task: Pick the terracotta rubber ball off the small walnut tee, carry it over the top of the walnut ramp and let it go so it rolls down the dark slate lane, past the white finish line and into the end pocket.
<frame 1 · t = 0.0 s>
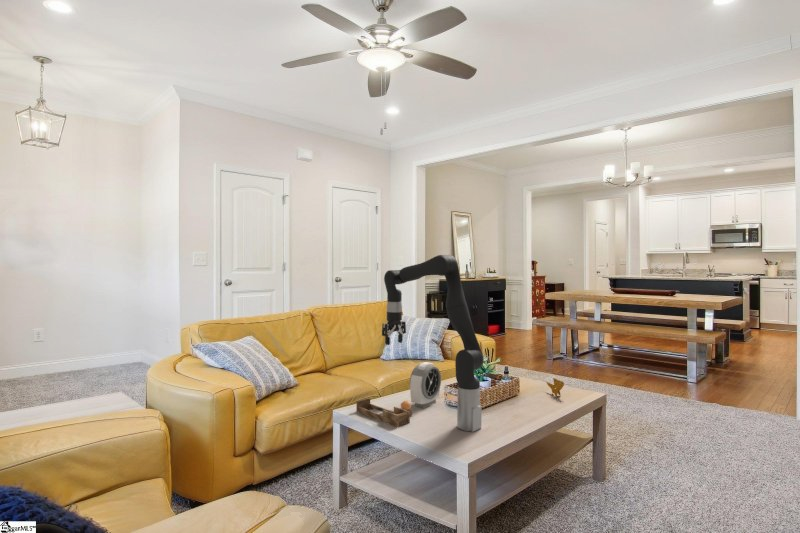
hand: (394, 343, 219), 29 cm above the table, fingers open, 8 cm apart
ball: (405, 405, 202), point 5 cm above the table, touching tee
alarm clock: (425, 404, 219), on the table
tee: (405, 415, 202), on the table
lane: (382, 417, 199), on the table
toy: (554, 395, 236), on the table
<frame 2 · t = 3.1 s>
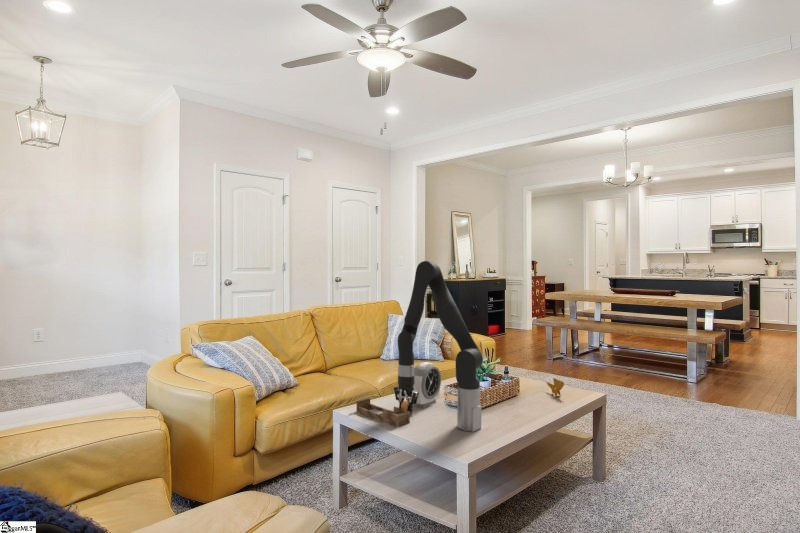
hand: (405, 411, 202), 2 cm above the table, fingers closed on ball, 4 cm apart
ball: (405, 405, 202), point 5 cm above the table, touching gripper, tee
everything else where it was.
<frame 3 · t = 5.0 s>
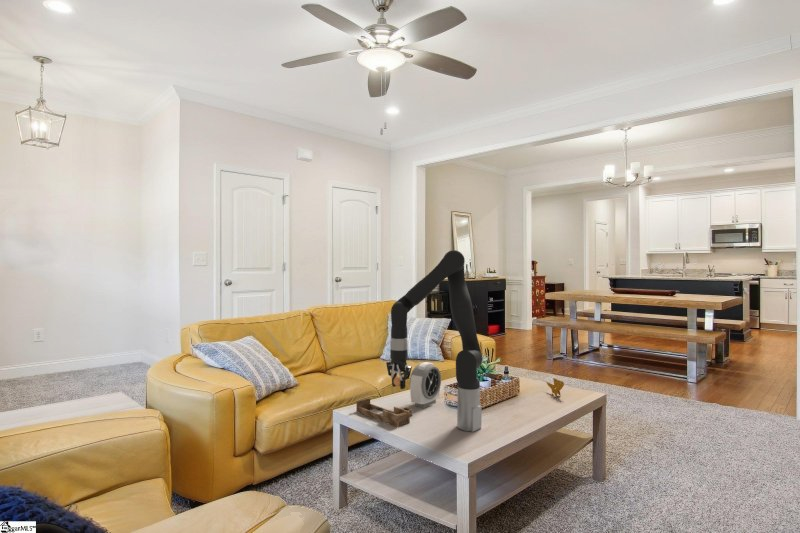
hand: (398, 387, 193), 15 cm above the table, fingers closed on ball, 4 cm apart
ball: (398, 381, 193), point 18 cm above the table, touching gripper
everything else where it was.
when the fingers open (6 cm above the table, at t = 6.9 s): ball drops 3 cm and tips over, resting on lane.
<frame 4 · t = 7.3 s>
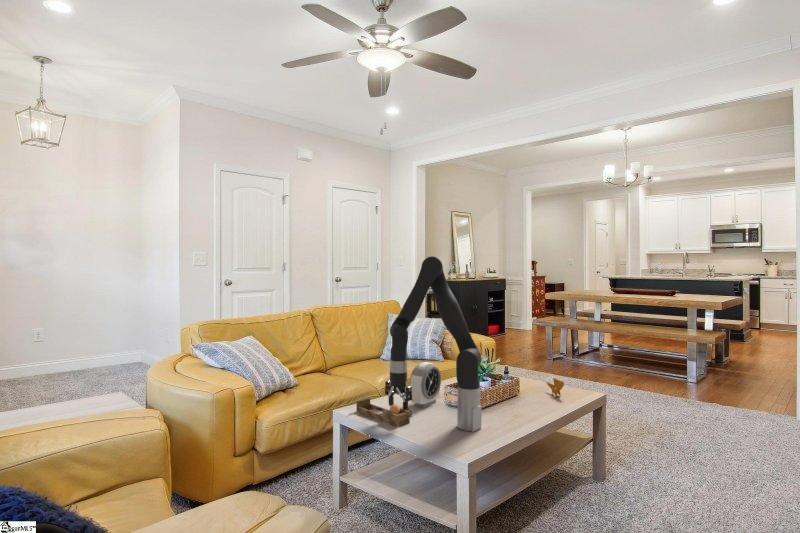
hand: (398, 407, 192), 7 cm above the table, fingers open, 8 cm apart
ball: (394, 409, 194), point 5 cm above the table, tilted 57°, touching gripper, lane
everything else where it was.
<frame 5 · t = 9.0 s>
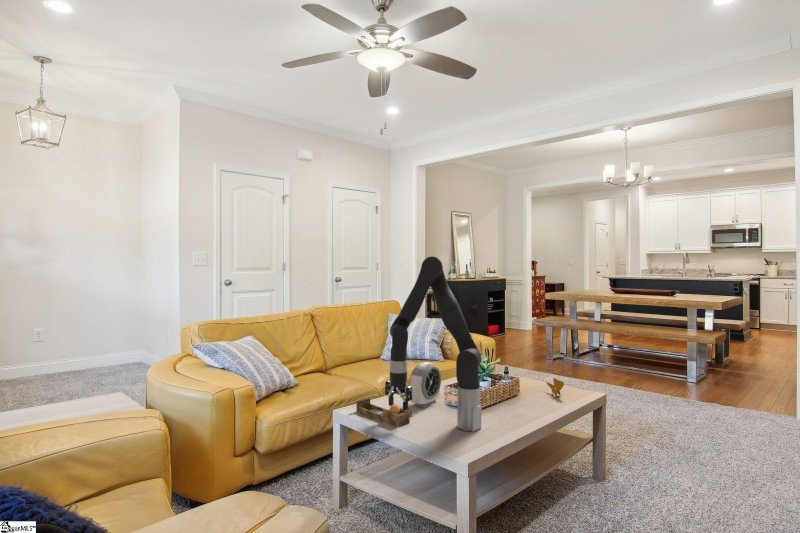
hand: (398, 407, 192), 7 cm above the table, fingers open, 8 cm apart
nothing on the table moved.
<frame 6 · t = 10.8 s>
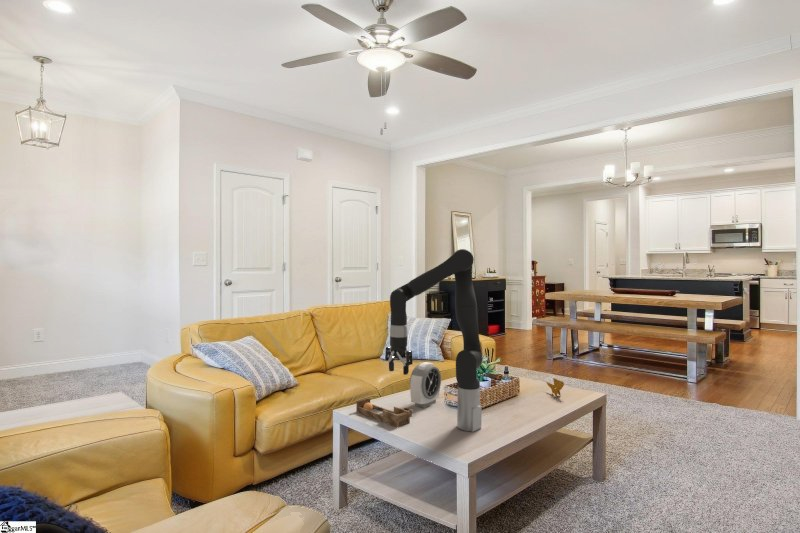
hand: (398, 372, 192), 22 cm above the table, fingers open, 8 cm apart
ball: (368, 407, 206), point 2 cm above the table, tilted 172°
everything else where it was.
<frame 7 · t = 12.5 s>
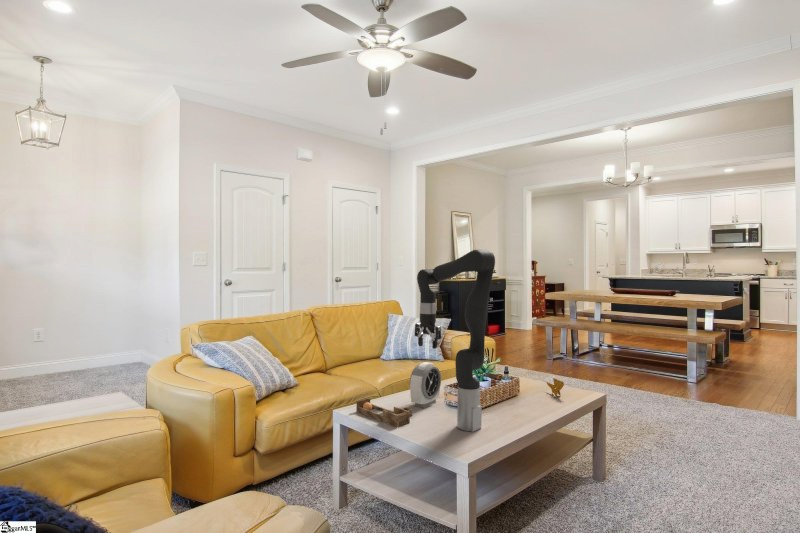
hand: (427, 347, 207), 30 cm above the table, fingers open, 8 cm apart
ball: (367, 407, 206), point 2 cm above the table, tilted 159°
everything else where it was.
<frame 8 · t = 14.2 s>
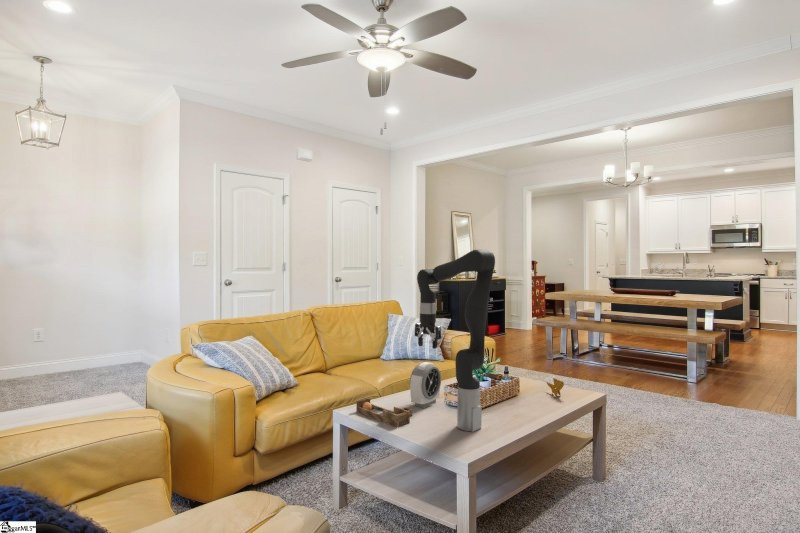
hand: (427, 347, 207), 30 cm above the table, fingers open, 8 cm apart
ball: (367, 407, 206), point 2 cm above the table, tilted 153°
everything else where it was.
at the end: ball inside the target area on the lane (2.2 cm from its centre), point 2.2 cm above the lane's base; the gripper is holding nothing; ball moved 18.7 cm from its start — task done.
